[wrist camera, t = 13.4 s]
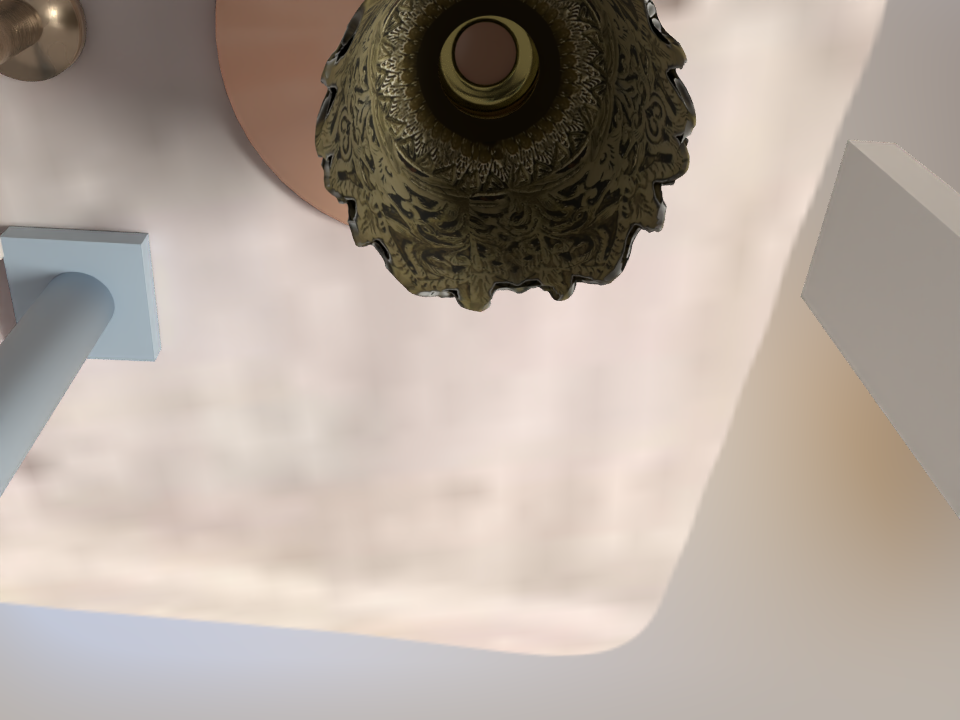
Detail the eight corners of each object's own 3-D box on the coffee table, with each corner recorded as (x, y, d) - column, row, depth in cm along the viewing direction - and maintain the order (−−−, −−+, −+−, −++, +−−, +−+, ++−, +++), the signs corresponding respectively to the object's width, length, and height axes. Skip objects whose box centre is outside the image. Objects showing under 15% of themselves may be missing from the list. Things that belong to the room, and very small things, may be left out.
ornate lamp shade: (359, 189, 27) (335, 323, 20) (330, -94, 23) (288, -52, 16) (616, 178, 27) (680, 306, 20) (630, -105, 23) (716, -67, 16)
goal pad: (205, -208, 22) (199, -208, 21) (657, -167, 23) (662, -166, 22) (232, 222, 28) (228, 230, 27) (594, 242, 28) (597, 250, 28)
